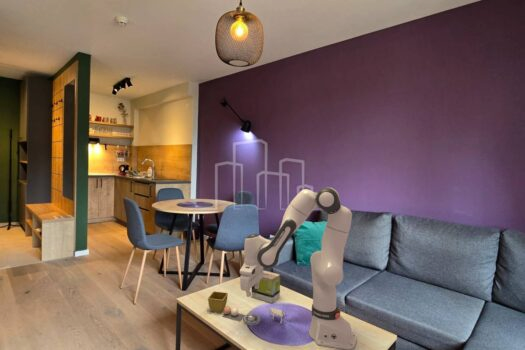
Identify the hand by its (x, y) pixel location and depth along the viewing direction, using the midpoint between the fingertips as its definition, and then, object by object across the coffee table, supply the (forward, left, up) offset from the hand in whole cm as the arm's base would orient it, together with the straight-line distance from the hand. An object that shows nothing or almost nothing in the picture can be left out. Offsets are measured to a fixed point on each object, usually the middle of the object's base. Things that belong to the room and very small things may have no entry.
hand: (252, 292), depth 154 cm
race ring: (0, 0, -16) cm, 16 cm away
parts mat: (+11, 0, -16) cm, 19 cm away
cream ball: (+9, 0, -12) cm, 15 cm away
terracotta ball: (+15, 0, -15) cm, 21 cm away
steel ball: (0, 0, -16) cm, 16 cm away
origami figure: (-10, -8, -17) cm, 21 cm away
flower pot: (+22, -2, -16) cm, 28 cm away
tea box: (+5, -29, -17) cm, 34 cm away
